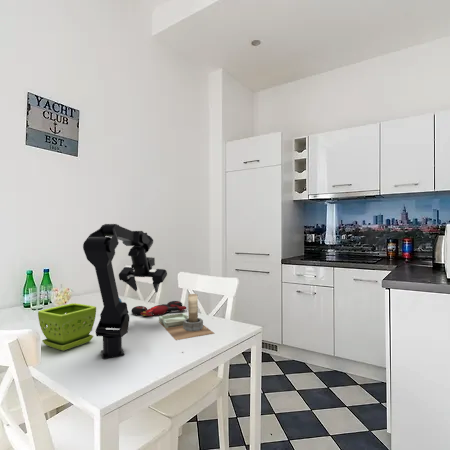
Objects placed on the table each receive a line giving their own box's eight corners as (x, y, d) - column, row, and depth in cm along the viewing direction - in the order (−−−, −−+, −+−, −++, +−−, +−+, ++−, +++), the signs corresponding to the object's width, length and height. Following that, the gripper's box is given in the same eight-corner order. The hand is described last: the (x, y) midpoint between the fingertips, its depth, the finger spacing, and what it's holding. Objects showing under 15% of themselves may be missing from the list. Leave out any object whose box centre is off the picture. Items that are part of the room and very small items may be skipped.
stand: (214, 336, 116) (214, 325, 116) (175, 343, 109) (175, 331, 109) (191, 318, 139) (191, 309, 139) (157, 323, 132) (157, 313, 132)
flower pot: (98, 341, 112) (97, 306, 112) (60, 355, 100) (60, 316, 100) (74, 335, 119) (73, 301, 119) (36, 347, 107) (36, 310, 107)
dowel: (199, 328, 122) (198, 295, 122) (190, 330, 120) (190, 296, 120) (195, 326, 125) (195, 293, 125) (187, 327, 123) (187, 294, 123)
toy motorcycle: (129, 316, 148) (138, 319, 135) (129, 305, 149) (137, 307, 136) (179, 310, 161) (191, 312, 147) (178, 300, 162) (190, 301, 148)
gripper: (168, 250, 128) (174, 280, 135) (127, 248, 132) (134, 278, 139) (158, 265, 118) (165, 297, 125) (113, 262, 122) (122, 294, 129)
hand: (146, 291), depth 130 cm, fingers open, 9 cm apart
